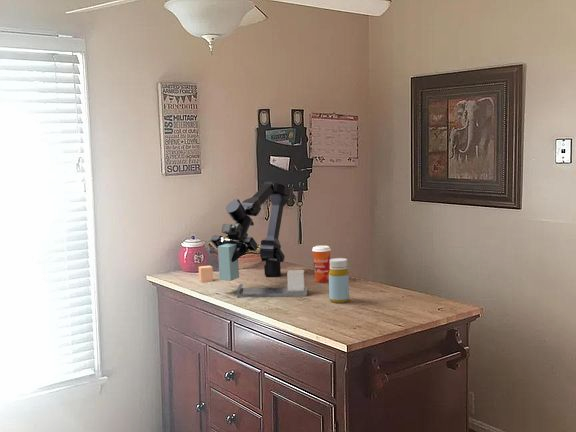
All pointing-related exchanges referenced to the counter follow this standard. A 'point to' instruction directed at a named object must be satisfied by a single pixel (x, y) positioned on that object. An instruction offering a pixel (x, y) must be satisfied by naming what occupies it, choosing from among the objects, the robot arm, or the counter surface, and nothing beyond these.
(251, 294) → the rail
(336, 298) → the bottle
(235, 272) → the block
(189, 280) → the counter surface
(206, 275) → the block
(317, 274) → the paper cup
